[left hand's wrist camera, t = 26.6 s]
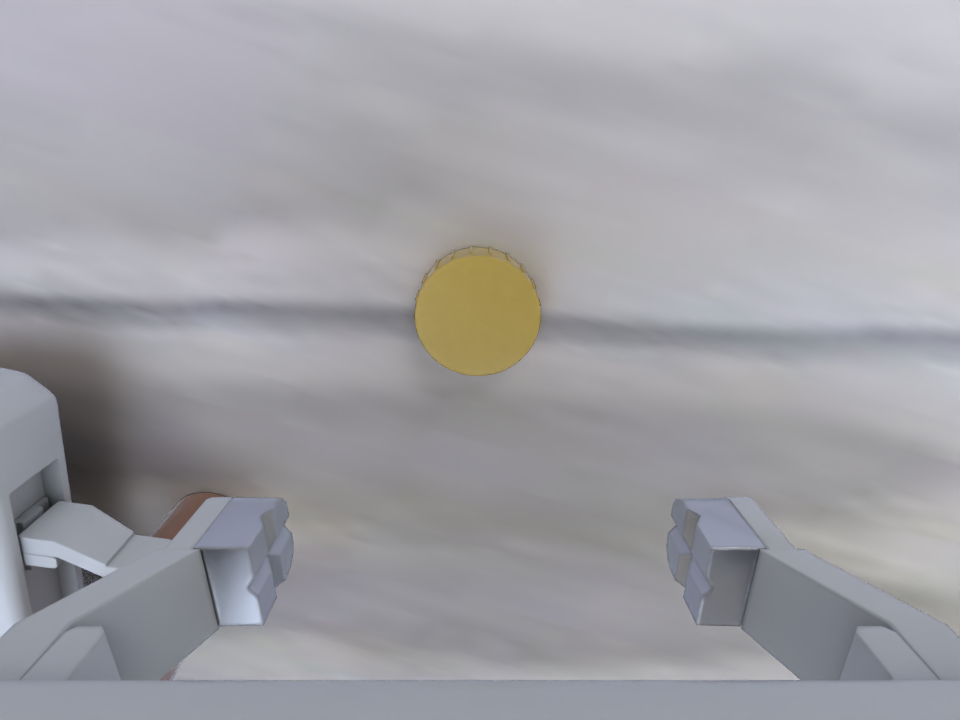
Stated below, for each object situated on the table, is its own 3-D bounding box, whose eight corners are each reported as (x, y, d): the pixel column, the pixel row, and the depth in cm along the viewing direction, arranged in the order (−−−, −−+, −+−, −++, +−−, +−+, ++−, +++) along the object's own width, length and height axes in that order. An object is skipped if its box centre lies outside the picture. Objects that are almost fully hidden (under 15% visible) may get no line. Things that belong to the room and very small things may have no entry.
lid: (505, 222, 21) (507, 229, 19) (556, 330, 23) (563, 344, 21) (395, 279, 22) (388, 291, 20) (453, 378, 24) (451, 397, 22)
